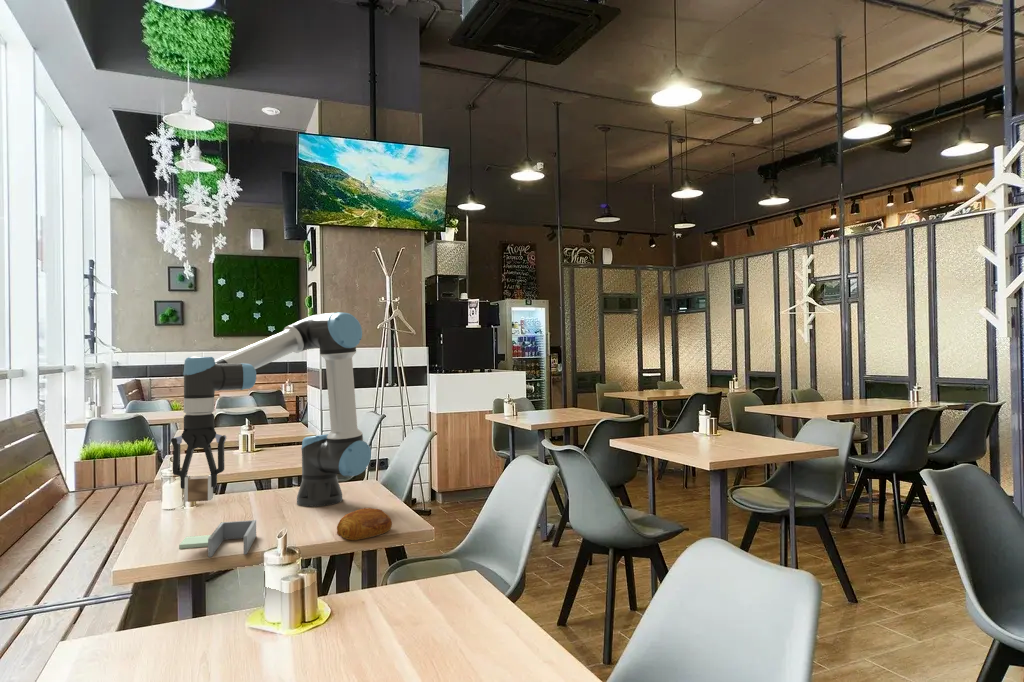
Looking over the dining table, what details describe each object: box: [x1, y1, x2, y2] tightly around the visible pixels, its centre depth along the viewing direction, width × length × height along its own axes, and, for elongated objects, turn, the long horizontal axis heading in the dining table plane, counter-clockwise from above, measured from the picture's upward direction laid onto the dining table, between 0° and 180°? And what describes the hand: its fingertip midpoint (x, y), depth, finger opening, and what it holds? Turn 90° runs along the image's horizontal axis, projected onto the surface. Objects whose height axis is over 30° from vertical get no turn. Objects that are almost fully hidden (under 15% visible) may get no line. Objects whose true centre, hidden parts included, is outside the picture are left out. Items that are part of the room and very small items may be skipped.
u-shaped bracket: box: [207, 519, 257, 558], centre depth 172 cm, size 9×17×4 cm, turn 14°
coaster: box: [178, 534, 212, 550], centre depth 175 cm, size 8×8×1 cm
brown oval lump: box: [336, 507, 393, 541], centre depth 184 cm, size 14×16×8 cm
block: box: [188, 474, 210, 503], centre depth 177 cm, size 5×5×6 cm
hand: (198, 499), depth 175 cm, fingers closed on block, 5 cm apart
